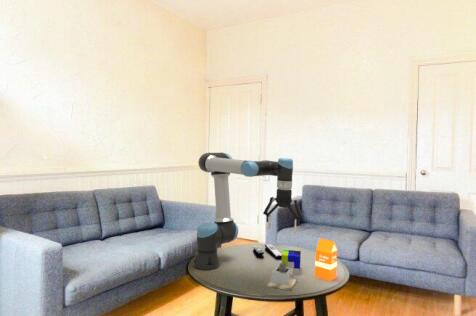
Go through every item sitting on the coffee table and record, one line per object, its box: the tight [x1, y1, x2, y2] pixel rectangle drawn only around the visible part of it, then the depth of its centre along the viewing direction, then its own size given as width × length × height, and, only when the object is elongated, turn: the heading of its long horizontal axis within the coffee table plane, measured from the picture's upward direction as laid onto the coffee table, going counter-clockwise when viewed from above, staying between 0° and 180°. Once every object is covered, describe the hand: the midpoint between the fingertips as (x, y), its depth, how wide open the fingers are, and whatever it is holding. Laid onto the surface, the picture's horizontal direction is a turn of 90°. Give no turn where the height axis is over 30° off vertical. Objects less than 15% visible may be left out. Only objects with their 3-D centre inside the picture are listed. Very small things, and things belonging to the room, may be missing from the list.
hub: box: [270, 265, 294, 287], centre depth 168 cm, size 9×9×6 cm
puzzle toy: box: [281, 249, 302, 276], centre depth 187 cm, size 10×10×10 cm
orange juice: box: [314, 238, 338, 282], centre depth 179 cm, size 8×9×20 cm
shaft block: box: [267, 262, 297, 292], centre depth 168 cm, size 12×12×10 cm
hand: (282, 230), depth 170 cm, fingers open, 13 cm apart
